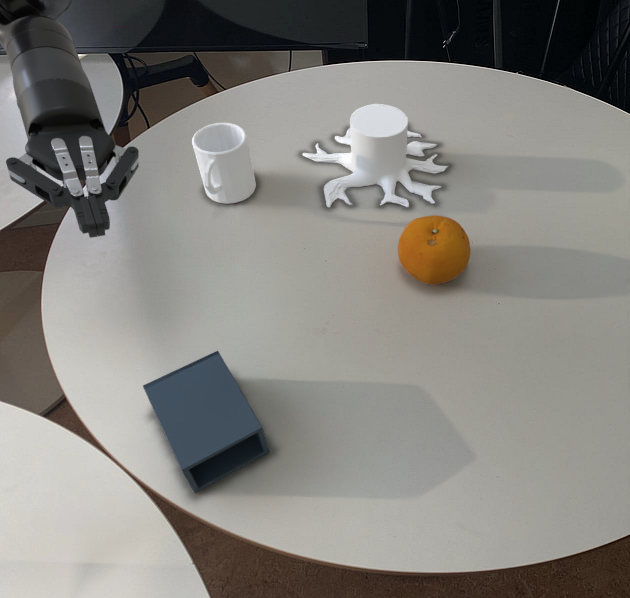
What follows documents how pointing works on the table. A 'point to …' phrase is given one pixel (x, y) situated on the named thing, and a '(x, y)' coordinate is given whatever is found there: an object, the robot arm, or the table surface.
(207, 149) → the mug
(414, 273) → the fruit
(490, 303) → the table surface
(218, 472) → the bin
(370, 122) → the white tree stump
